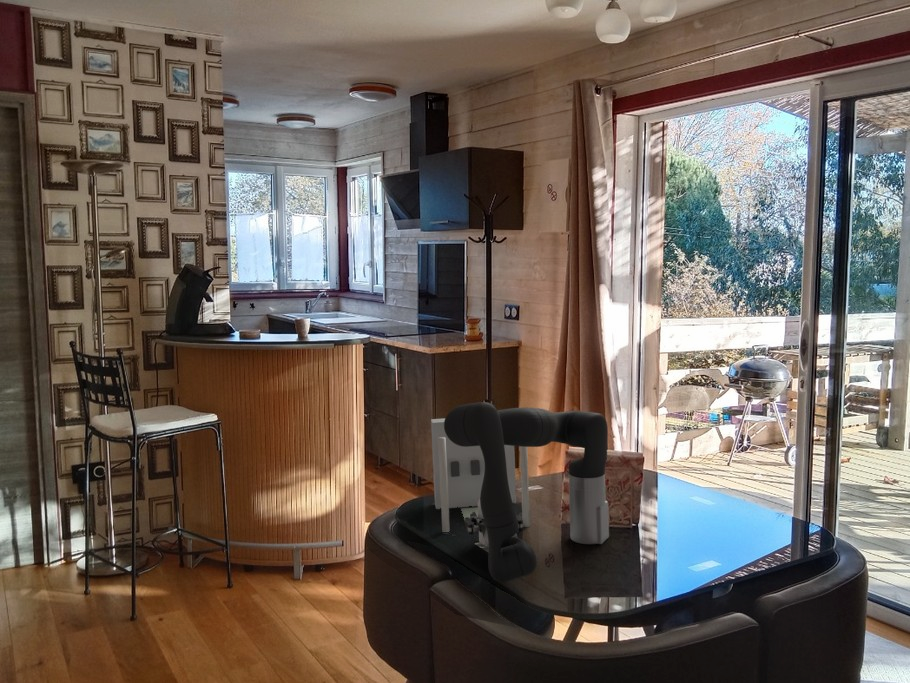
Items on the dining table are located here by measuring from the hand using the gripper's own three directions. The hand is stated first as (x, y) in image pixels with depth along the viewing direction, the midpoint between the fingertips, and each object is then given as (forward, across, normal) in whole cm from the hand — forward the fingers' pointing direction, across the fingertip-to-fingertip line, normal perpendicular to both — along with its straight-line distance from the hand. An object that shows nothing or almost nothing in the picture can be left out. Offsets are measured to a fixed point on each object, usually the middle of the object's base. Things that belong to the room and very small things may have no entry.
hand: (489, 514), depth 204 cm
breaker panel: (+31, 0, +7) cm, 32 cm away
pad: (+21, 0, +7) cm, 22 cm away
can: (-1, 0, +7) cm, 7 cm away
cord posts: (+9, 0, +7) cm, 11 cm away
